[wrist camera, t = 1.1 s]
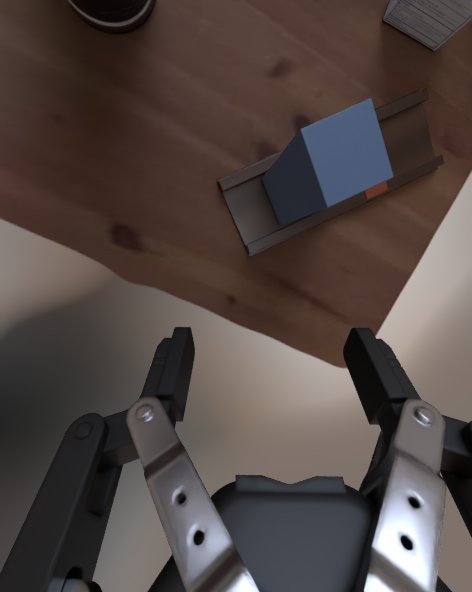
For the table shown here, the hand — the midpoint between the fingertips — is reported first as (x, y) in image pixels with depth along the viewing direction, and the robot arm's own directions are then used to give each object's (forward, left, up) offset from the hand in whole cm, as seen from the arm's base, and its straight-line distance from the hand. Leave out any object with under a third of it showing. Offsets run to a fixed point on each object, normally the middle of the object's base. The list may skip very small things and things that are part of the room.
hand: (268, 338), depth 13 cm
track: (-7, +18, -20) cm, 28 cm away
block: (-7, +12, -19) cm, 24 cm away
